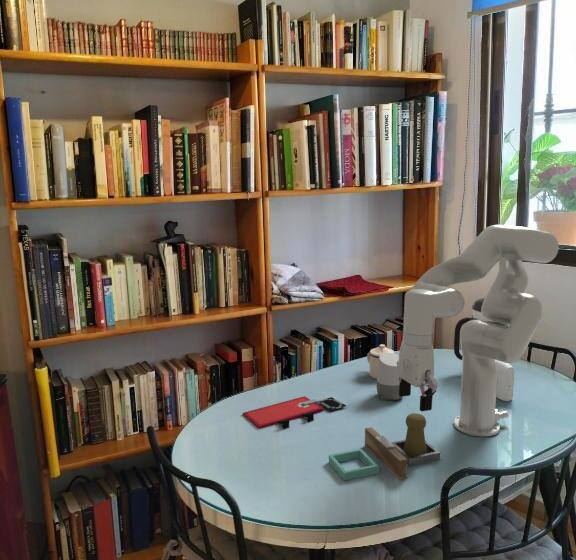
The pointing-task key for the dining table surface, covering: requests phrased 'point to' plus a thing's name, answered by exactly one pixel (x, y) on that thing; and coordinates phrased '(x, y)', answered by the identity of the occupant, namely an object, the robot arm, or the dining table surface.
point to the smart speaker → (388, 377)
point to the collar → (354, 473)
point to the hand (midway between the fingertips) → (414, 402)
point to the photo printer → (504, 381)
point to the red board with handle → (290, 411)
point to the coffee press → (476, 316)
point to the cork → (415, 435)
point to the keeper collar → (415, 460)
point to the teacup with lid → (376, 359)
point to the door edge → (386, 453)
